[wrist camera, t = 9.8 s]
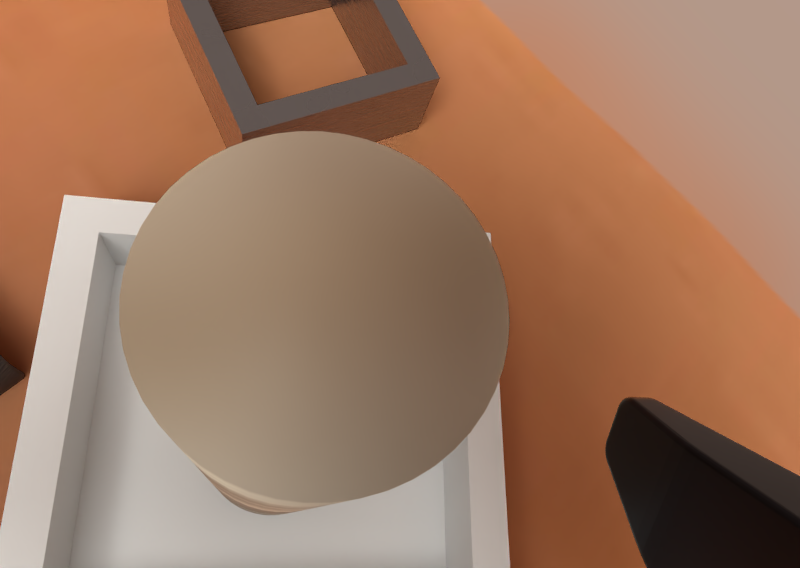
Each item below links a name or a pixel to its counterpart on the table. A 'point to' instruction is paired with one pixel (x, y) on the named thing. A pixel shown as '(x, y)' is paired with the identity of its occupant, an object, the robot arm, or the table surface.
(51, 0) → the table surface
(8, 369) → the hardcover book
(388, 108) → the collar
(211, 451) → the dowel
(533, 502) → the table surface
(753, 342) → the table surface
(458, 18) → the table surface
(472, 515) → the tray
